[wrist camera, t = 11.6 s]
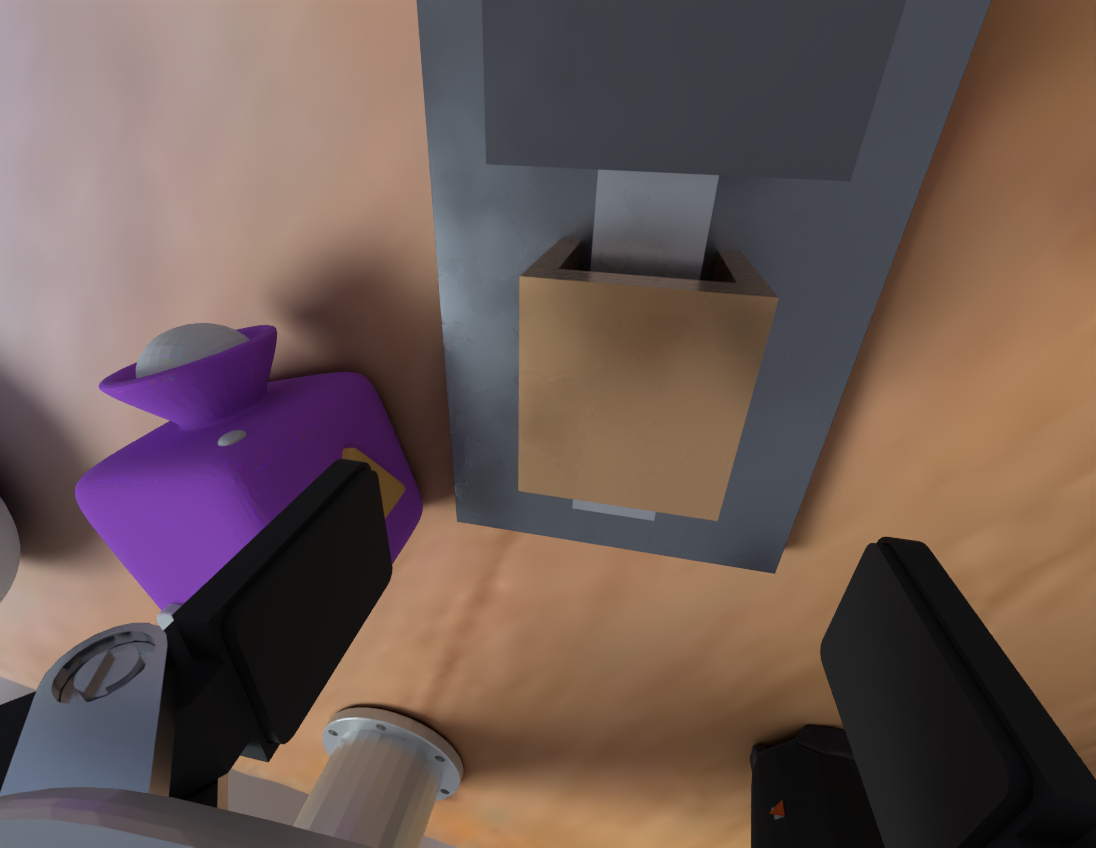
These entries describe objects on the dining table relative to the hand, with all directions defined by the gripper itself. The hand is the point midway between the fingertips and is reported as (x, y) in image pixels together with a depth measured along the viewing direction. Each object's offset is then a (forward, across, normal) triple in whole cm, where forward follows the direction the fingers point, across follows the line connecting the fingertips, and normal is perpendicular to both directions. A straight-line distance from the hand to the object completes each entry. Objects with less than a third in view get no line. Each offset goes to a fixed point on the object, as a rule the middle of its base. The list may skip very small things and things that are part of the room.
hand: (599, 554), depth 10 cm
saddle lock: (+11, 0, -1) cm, 11 cm away
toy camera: (+13, +16, +6) cm, 22 cm away
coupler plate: (+13, 0, -1) cm, 13 cm away
